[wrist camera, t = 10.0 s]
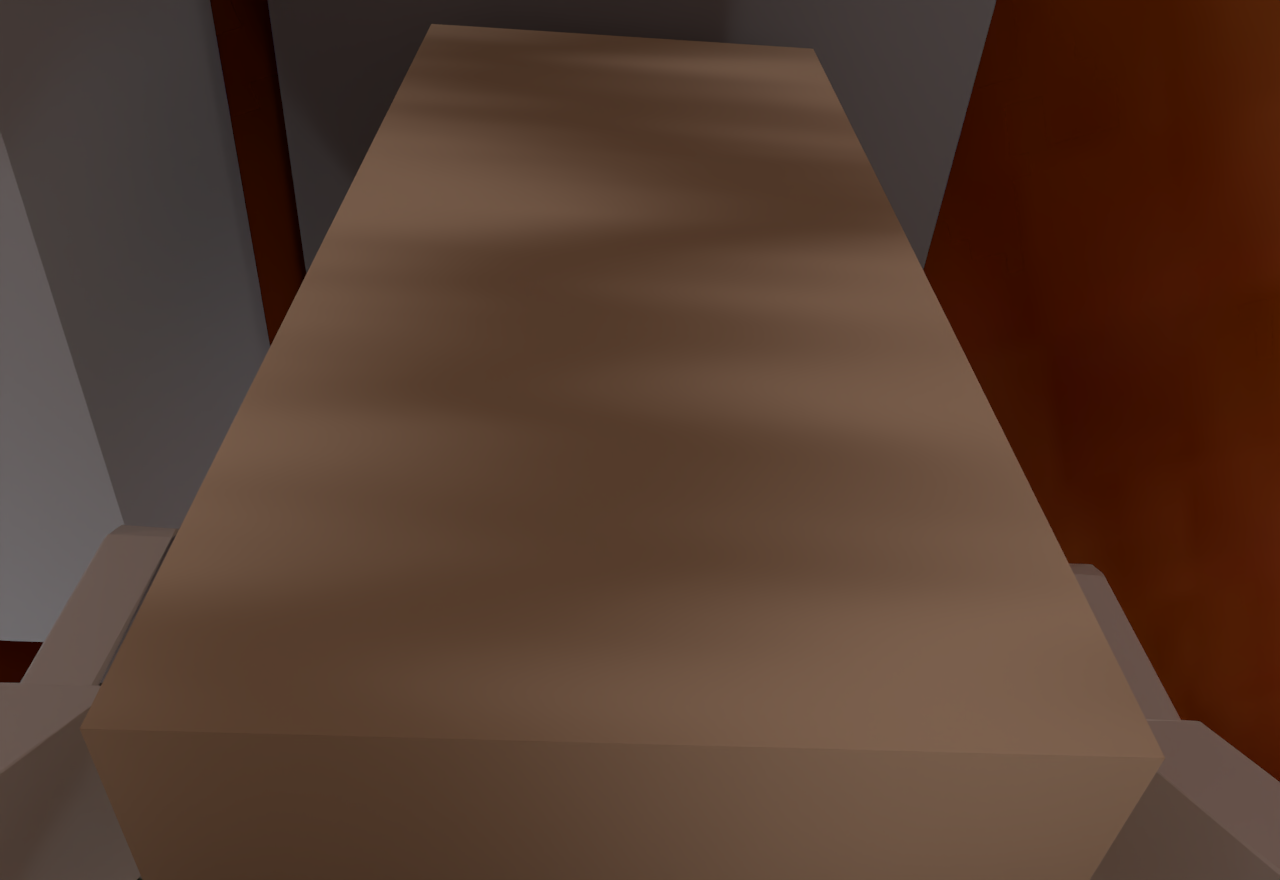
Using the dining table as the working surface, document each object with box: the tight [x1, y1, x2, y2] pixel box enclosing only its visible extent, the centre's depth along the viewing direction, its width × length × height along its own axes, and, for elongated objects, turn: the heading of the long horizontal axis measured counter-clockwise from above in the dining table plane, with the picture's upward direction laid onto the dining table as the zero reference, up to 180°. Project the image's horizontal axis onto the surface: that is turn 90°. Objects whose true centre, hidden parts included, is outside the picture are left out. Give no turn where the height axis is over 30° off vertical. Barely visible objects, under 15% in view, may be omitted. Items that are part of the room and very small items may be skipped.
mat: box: [268, 0, 996, 274], centre depth 16 cm, size 10×10×1 cm
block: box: [80, 24, 1165, 880], centre depth 11 cm, size 5×5×11 cm
